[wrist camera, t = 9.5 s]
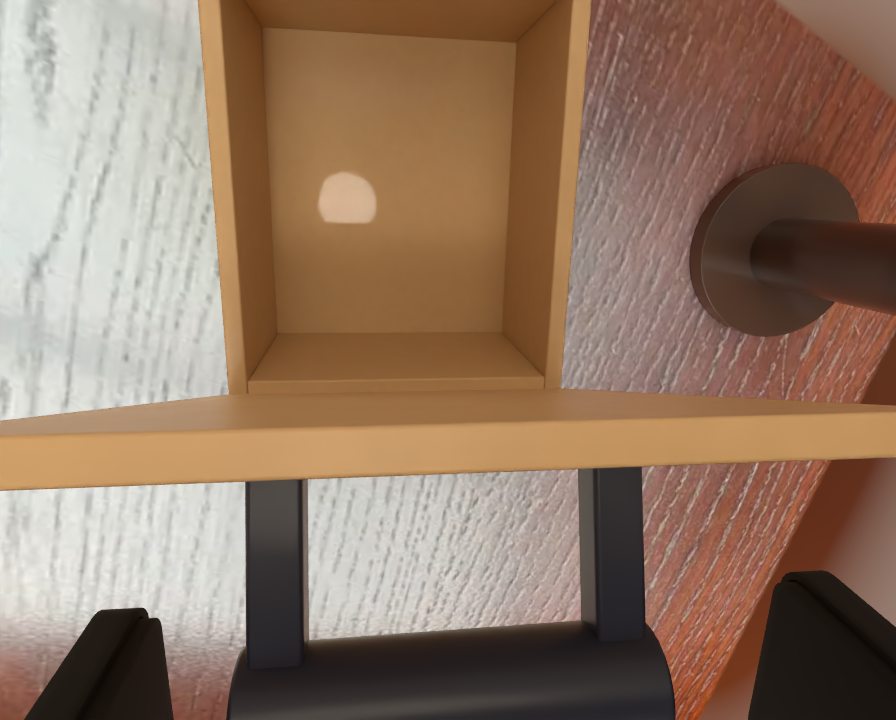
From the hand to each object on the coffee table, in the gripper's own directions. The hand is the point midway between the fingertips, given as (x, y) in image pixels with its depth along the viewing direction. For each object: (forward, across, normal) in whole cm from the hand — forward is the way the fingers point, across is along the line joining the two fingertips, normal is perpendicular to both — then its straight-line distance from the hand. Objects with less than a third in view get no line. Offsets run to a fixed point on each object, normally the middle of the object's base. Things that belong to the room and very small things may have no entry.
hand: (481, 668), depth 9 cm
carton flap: (+5, +1, -3) cm, 6 cm away
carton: (+19, +1, -7) cm, 21 cm away
